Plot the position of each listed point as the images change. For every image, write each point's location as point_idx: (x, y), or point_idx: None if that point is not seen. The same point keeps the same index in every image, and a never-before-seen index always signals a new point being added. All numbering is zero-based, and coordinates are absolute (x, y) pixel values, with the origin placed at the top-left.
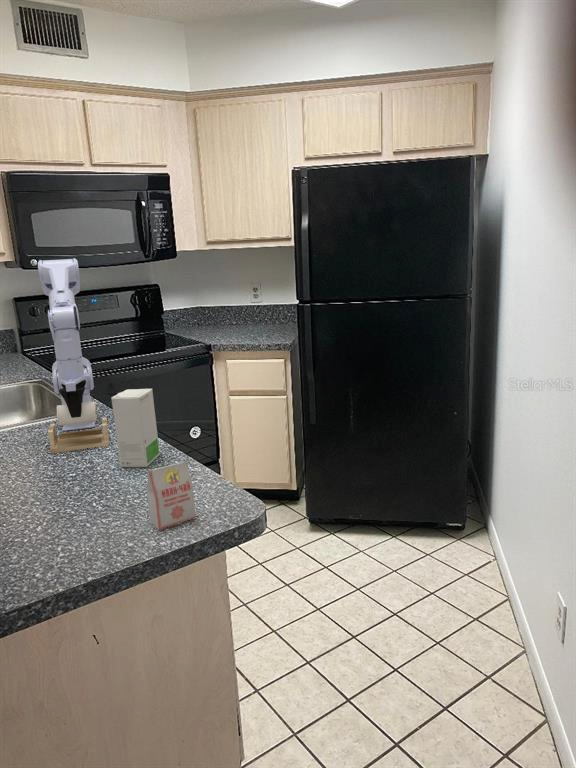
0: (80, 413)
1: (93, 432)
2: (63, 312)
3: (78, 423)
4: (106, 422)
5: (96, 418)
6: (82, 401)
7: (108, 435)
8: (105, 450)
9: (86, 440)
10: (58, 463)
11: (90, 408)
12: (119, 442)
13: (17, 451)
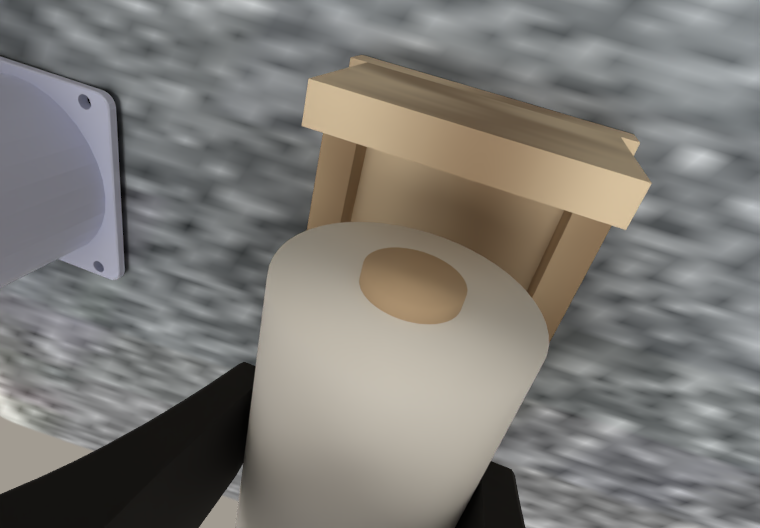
0: (518, 507)
1: (352, 189)
2: None
3: (84, 203)
4: (515, 140)
5: (391, 226)
6: (202, 434)
7: (423, 77)
8: (731, 194)
9: (563, 312)
10: (701, 482)
11: (500, 426)
12: None
13: None
